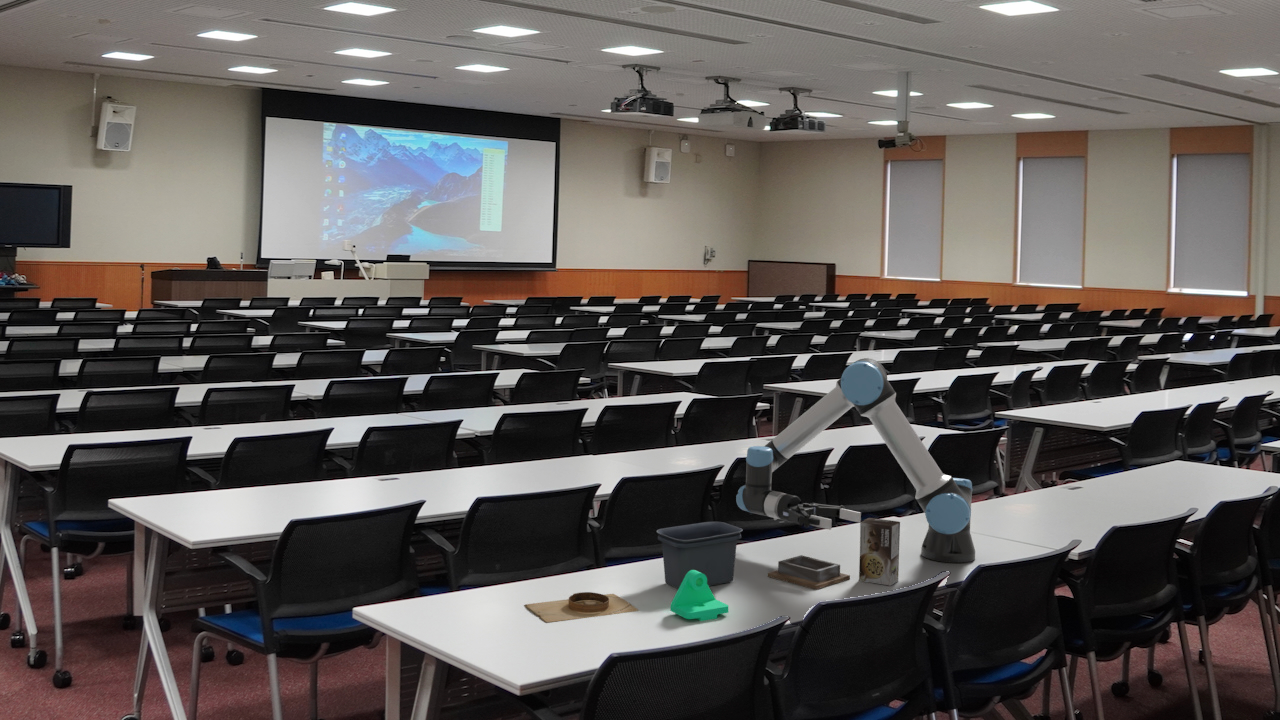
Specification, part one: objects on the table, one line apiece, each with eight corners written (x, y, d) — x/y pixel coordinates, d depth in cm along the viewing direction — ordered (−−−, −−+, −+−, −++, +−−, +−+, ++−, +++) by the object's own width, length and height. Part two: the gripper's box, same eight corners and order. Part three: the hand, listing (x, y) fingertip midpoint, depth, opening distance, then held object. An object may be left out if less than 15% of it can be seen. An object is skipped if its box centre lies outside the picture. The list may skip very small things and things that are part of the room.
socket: (801, 566, 322) (802, 552, 321) (849, 578, 310) (850, 564, 310) (767, 576, 311) (768, 561, 311) (815, 589, 300) (816, 574, 299)
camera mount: (687, 624, 270) (688, 580, 269) (670, 615, 277) (671, 572, 276) (729, 616, 276) (731, 574, 276) (712, 608, 283) (713, 566, 282)
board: (615, 596, 293) (615, 583, 293) (642, 613, 280) (643, 600, 279) (522, 608, 282) (522, 595, 281) (546, 626, 268) (546, 612, 268)
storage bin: (679, 595, 292) (680, 540, 291) (646, 580, 305) (647, 527, 304) (746, 584, 304) (748, 530, 302) (711, 570, 317) (712, 518, 315)
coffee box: (899, 580, 309) (901, 521, 308) (890, 586, 304) (892, 525, 303) (866, 575, 314) (868, 516, 313) (857, 580, 309) (859, 521, 307)
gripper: (809, 513, 340) (871, 527, 325) (755, 526, 322) (817, 541, 307) (811, 488, 339) (872, 501, 324) (756, 499, 321) (818, 513, 306)
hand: (845, 521), depth 316 cm, fingers open, 13 cm apart
